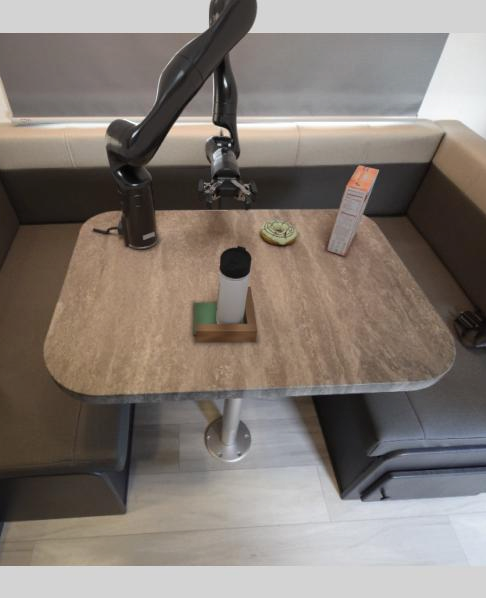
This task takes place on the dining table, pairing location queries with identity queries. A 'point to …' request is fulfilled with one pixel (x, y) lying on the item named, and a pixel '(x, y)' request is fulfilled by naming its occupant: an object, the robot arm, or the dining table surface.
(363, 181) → the cracker box
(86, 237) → the dining table surface
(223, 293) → the travel mug
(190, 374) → the dining table surface
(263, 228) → the decorated donut
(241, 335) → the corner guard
